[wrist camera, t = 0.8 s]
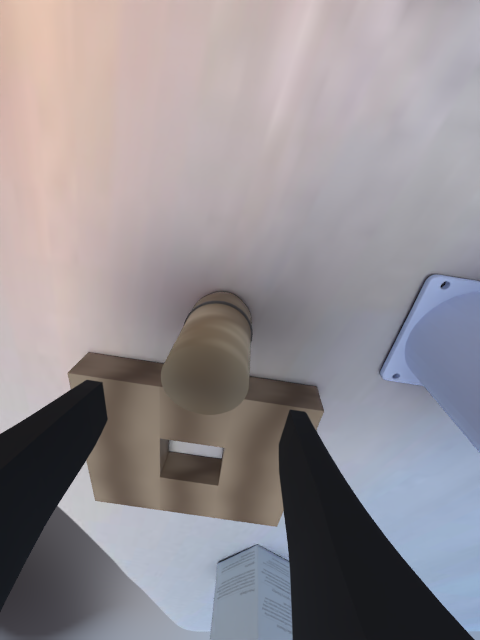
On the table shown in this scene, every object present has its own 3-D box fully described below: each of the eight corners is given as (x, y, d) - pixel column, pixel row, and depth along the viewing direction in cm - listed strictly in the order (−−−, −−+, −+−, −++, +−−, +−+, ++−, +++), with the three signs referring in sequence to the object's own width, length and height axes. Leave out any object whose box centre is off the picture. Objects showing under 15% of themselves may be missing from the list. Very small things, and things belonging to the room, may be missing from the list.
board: (316, 386, 20) (323, 411, 18) (275, 499, 28) (277, 526, 25) (88, 352, 20) (67, 372, 18) (108, 475, 27) (95, 500, 25)
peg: (257, 291, 17) (258, 352, 11) (247, 344, 19) (243, 421, 13) (194, 281, 17) (158, 337, 11) (191, 335, 19) (159, 409, 13)
